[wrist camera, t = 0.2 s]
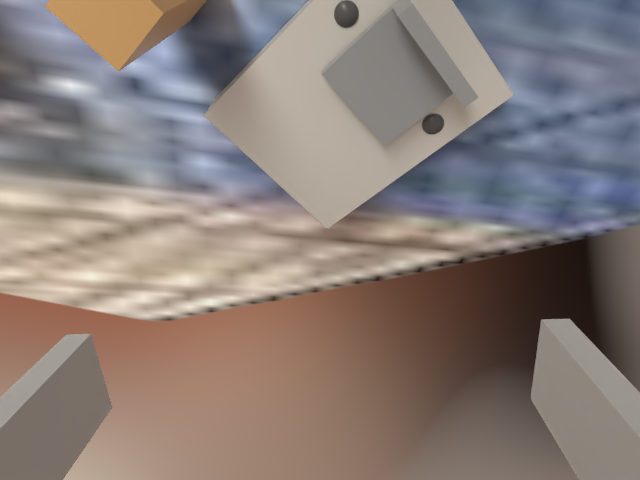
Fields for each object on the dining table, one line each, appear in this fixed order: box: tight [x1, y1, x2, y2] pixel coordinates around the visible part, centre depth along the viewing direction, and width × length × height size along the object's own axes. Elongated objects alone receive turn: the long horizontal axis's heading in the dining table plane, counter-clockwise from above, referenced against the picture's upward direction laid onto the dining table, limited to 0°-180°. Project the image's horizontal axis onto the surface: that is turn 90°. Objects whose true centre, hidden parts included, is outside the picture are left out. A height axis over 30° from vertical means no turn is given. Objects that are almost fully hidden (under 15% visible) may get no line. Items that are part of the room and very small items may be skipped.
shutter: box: [322, 0, 478, 146], centre depth 29 cm, size 7×7×4 cm
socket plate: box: [204, 0, 514, 229], centre depth 34 cm, size 18×14×4 cm
